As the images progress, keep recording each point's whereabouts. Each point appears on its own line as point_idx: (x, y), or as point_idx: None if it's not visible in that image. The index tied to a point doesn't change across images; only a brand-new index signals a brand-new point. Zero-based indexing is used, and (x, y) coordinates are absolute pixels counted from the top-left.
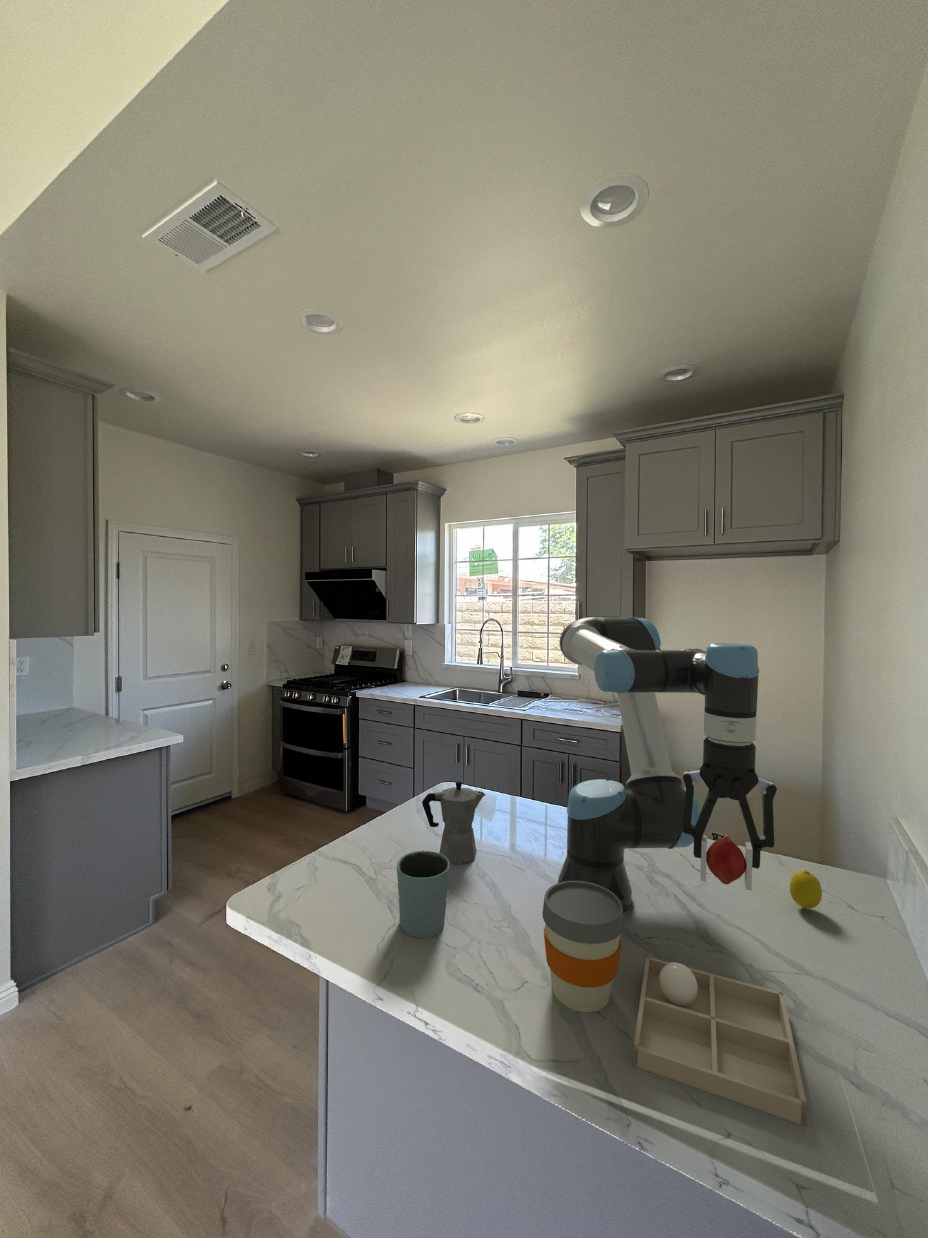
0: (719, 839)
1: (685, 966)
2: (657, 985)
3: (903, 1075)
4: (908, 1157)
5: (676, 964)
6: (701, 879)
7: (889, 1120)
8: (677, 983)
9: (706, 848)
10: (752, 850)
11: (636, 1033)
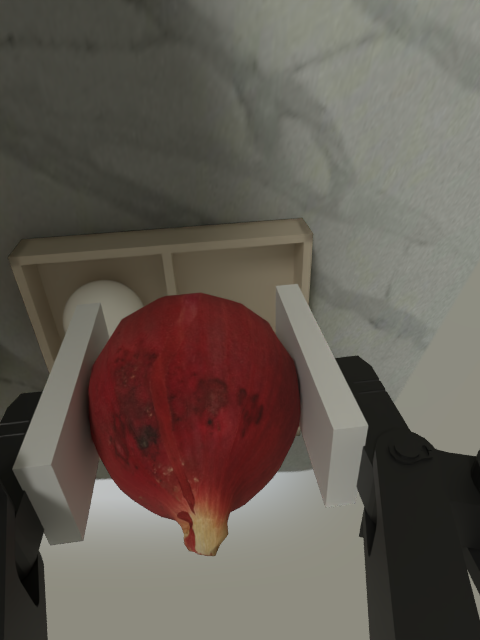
0: (154, 486)
1: (112, 326)
2: (60, 276)
3: (454, 272)
4: (393, 391)
5: None
6: None
7: (395, 356)
8: None
9: (90, 501)
10: (353, 501)
11: None
